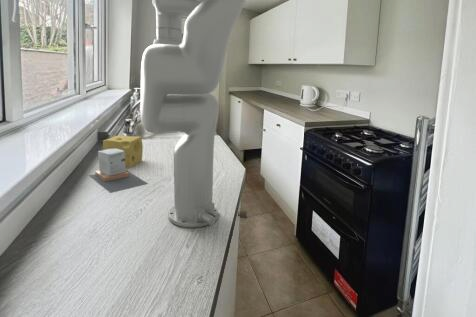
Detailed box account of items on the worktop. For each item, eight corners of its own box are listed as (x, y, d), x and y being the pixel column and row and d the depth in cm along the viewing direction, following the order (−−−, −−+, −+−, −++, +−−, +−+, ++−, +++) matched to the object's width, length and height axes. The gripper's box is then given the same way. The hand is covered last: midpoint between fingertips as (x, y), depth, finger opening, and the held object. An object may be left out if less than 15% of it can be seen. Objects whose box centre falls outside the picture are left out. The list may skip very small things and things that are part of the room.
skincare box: (110, 176, 98) (108, 154, 95) (99, 172, 101) (97, 150, 99) (126, 171, 102) (125, 150, 100) (115, 167, 106) (113, 147, 104)
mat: (148, 184, 97) (148, 183, 97) (110, 194, 89) (110, 192, 89) (124, 169, 109) (124, 168, 109) (88, 176, 101) (88, 175, 101)
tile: (128, 172, 102) (118, 166, 107) (104, 177, 96) (94, 170, 102) (128, 176, 102) (118, 169, 108) (104, 181, 97) (95, 174, 102)
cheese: (129, 169, 110) (127, 142, 107) (102, 166, 112) (100, 139, 109) (143, 161, 120) (142, 136, 117) (119, 158, 122) (117, 134, 119)
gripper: (185, 38, 102) (186, 90, 107) (137, 33, 91) (139, 92, 96) (199, 38, 97) (198, 92, 102) (149, 32, 85) (151, 94, 90)
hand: (170, 92), depth 99 cm, fingers open, 9 cm apart
